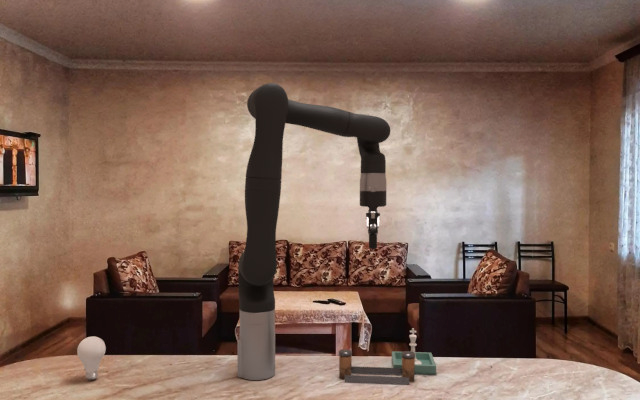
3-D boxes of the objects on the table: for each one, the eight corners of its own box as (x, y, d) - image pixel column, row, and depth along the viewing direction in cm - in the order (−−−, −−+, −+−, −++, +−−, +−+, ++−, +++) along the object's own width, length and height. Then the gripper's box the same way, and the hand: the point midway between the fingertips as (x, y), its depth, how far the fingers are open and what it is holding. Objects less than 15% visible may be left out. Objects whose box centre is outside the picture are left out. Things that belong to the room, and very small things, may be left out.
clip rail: (337, 382, 131) (338, 355, 131) (339, 372, 138) (339, 347, 137) (416, 385, 129) (416, 357, 129) (413, 375, 136) (413, 349, 136)
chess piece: (422, 368, 139) (422, 331, 139) (403, 367, 140) (403, 330, 140) (421, 362, 144) (422, 326, 144) (403, 361, 145) (403, 325, 144)
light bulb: (111, 377, 134) (111, 335, 134) (90, 386, 128) (90, 342, 128) (93, 373, 137) (92, 332, 136) (71, 382, 131) (70, 338, 130)
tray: (393, 373, 137) (393, 364, 137) (391, 359, 148) (391, 351, 148) (436, 375, 136) (436, 366, 136) (431, 361, 147) (431, 352, 147)
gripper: (360, 189, 155) (360, 243, 155) (359, 189, 140) (359, 249, 141) (385, 189, 154) (385, 244, 154) (387, 189, 140) (386, 250, 140)
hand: (372, 246), depth 148 cm, fingers open, 8 cm apart
